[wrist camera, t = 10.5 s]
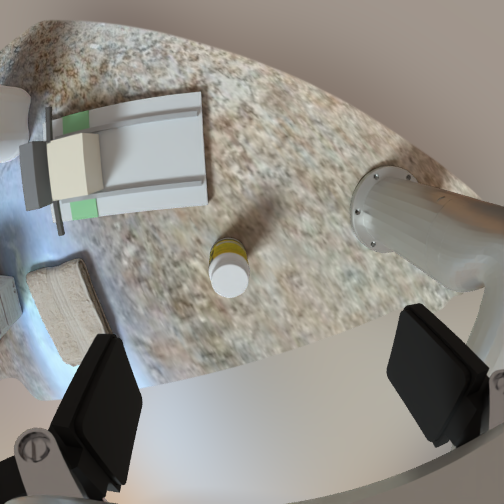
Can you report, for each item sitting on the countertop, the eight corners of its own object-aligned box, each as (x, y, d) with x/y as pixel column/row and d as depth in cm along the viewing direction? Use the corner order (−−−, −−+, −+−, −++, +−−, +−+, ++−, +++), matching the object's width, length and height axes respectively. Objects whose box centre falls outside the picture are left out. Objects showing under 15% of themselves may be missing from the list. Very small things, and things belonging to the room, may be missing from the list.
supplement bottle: (207, 240, 39) (203, 264, 31) (243, 234, 39) (248, 256, 31) (213, 273, 40) (212, 304, 33) (248, 268, 41) (255, 297, 33)
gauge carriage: (97, 102, 30) (81, 96, 25) (108, 221, 35) (93, 231, 30) (64, 111, 30) (45, 107, 25) (76, 225, 35) (58, 235, 30)
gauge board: (201, 93, 33) (197, 80, 26) (208, 203, 37) (205, 215, 31) (47, 123, 31) (18, 121, 24) (57, 220, 36) (30, 235, 29)
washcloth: (71, 360, 44) (65, 370, 41) (28, 269, 38) (18, 277, 35) (126, 354, 44) (122, 366, 41) (84, 253, 38) (75, 261, 35)
